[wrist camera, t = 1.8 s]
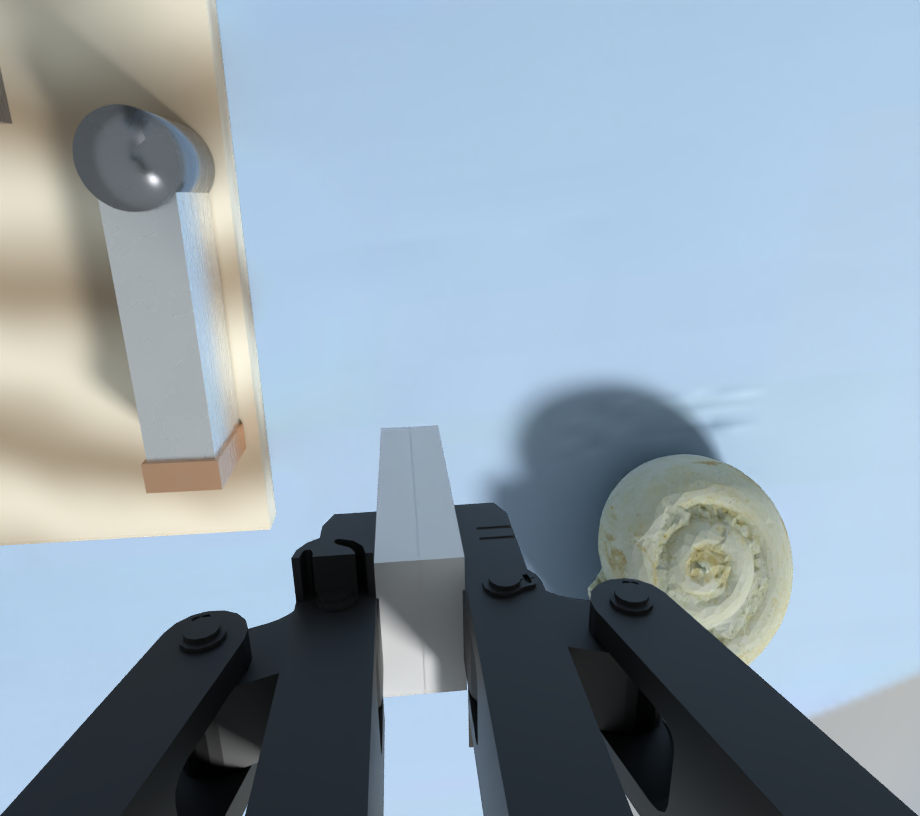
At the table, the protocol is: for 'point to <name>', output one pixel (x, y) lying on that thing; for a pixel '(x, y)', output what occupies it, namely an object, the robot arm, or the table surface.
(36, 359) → the plate
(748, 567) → the seashell
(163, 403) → the bar
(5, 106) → the block
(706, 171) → the table surface
